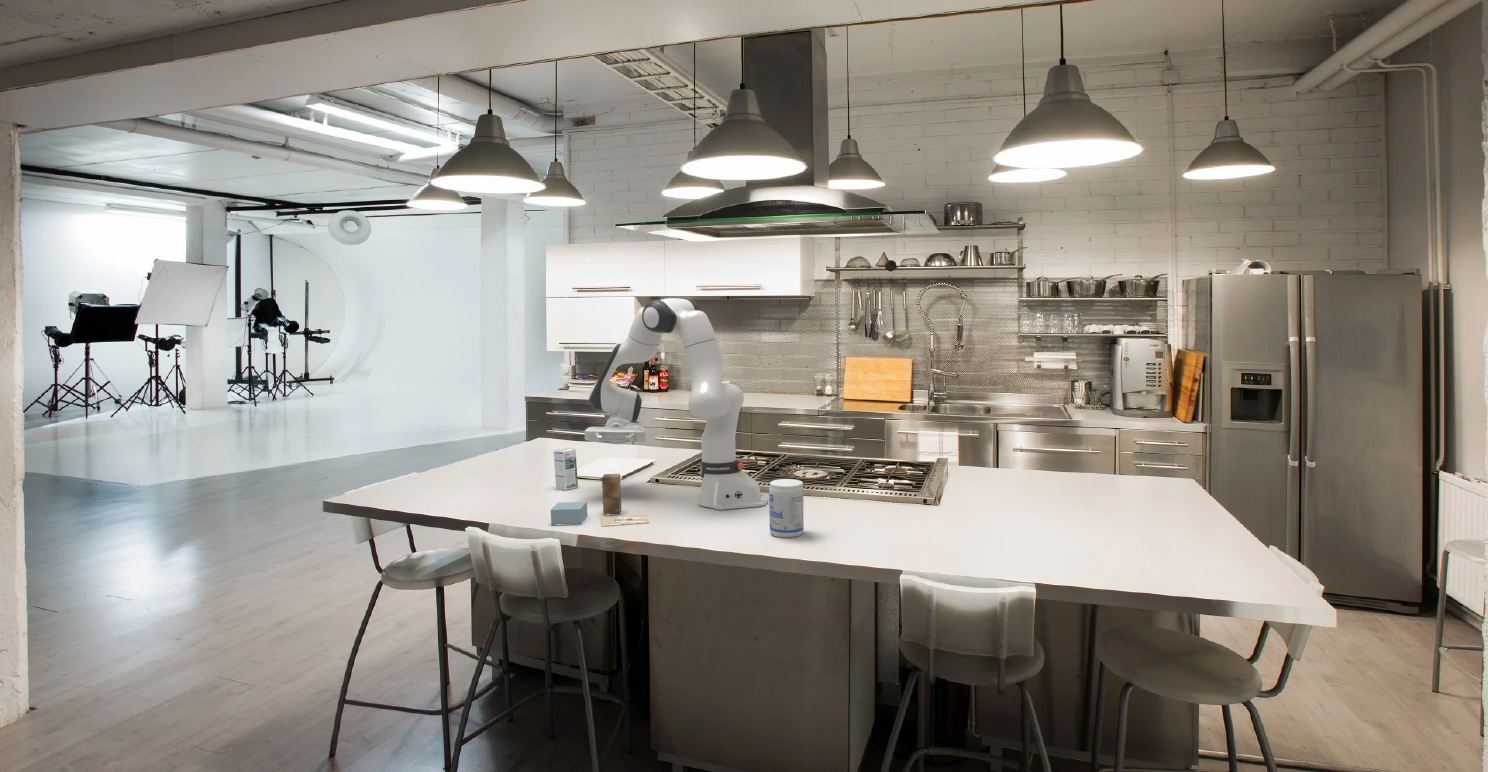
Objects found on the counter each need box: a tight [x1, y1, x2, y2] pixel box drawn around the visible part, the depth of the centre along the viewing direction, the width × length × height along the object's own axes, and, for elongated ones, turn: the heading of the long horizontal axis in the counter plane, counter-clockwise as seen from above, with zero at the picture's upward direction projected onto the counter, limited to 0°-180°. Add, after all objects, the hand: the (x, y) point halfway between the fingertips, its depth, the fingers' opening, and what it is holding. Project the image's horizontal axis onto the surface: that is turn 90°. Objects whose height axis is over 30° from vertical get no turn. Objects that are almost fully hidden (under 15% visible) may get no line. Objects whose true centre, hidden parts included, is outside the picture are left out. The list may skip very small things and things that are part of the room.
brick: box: [550, 501, 589, 526], centre depth 244 cm, size 9×9×5 cm
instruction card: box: [600, 514, 650, 527], centre depth 243 cm, size 14×10×1 cm
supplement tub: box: [768, 478, 805, 539], centre depth 223 cm, size 10×10×15 cm
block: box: [601, 473, 623, 516], centre depth 252 cm, size 5×5×12 cm
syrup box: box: [553, 447, 579, 491], centre depth 289 cm, size 6×6×14 cm
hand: (613, 439), depth 262 cm, fingers open, 8 cm apart
